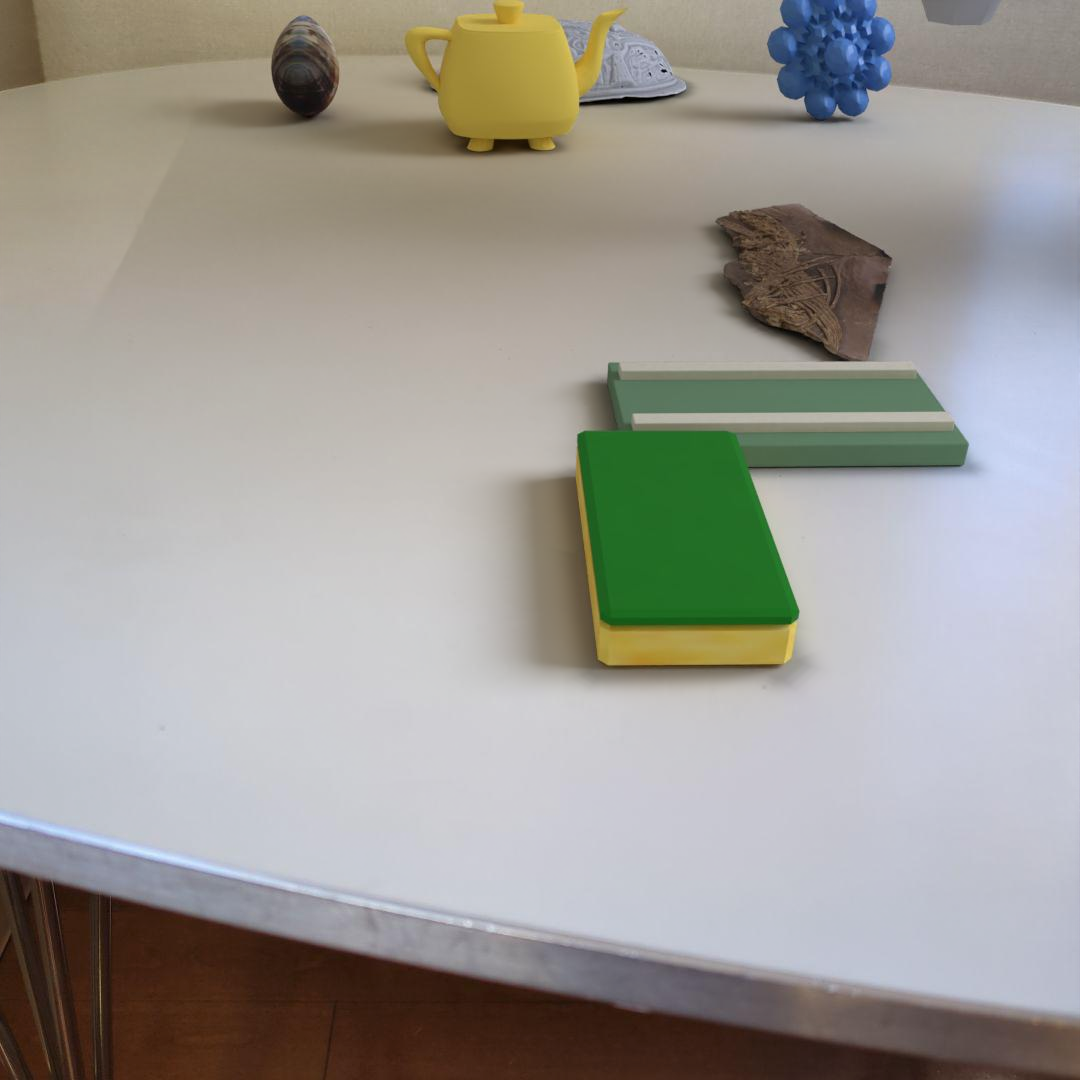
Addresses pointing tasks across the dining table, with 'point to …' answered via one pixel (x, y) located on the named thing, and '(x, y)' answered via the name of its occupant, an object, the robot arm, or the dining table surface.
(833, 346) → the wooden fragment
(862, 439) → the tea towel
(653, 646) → the dish sponge
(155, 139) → the dining table surface
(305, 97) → the seashell
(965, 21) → the salt shaker
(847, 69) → the blue knobbly round piece
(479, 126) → the teapot
